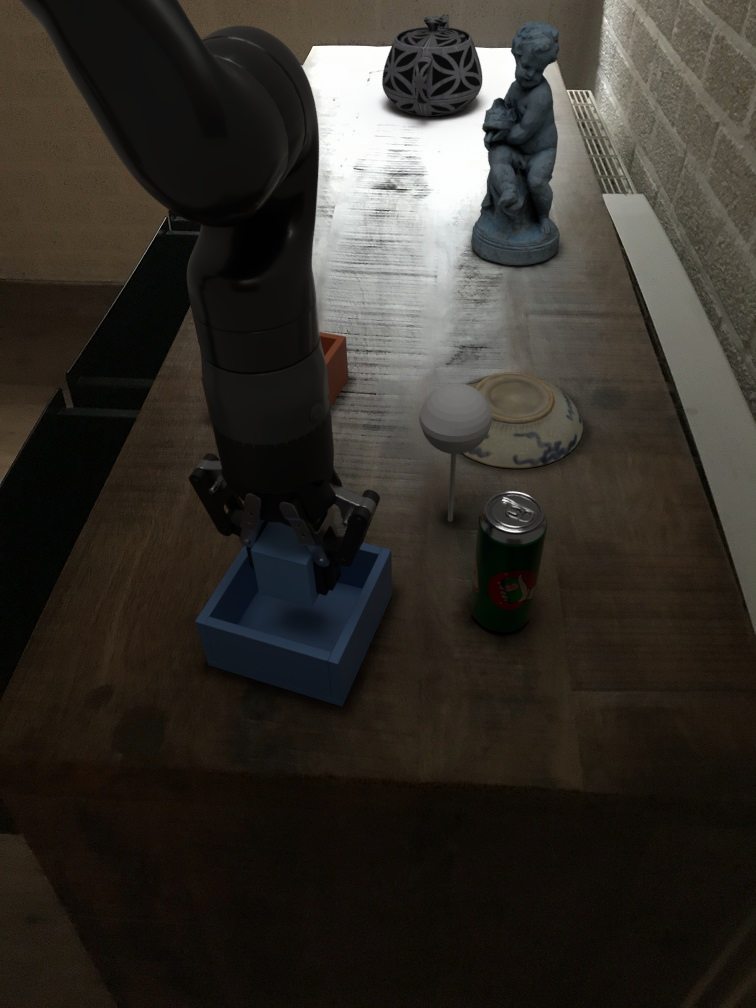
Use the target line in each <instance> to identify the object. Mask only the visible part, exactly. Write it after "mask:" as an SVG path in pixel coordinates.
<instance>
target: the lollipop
mask: <svg viewBox="0 0 756 1008" xmlns="http://www.w3.org/2000/svg"><path fill="white" fill-rule="evenodd" d="M466 384H467V383H461V382H452V383H446V384H443V385H441V386H438V388H436V389H435V390H433V391H432V392H431V393H430V394H429V395H428V396H427V397H426V399H425V401H424V402H423V404H422V406H421V408H420V410H419V411H420V412H419V417H418V419H419V425H420V427H421V431H422V433H423V436H424V437H425V438H426V441H428V443H429V444H430V445H431V446H432V447H434V448H435V449H437V450H438V451H440V452H443V453H445V454H450V465H449V468H450V469H449V470H450V471H449V485H448V486H449V487H448V489H449V490H448V506H447V508H448V509H447V522H450V523H451V522H453V520H454V519H453V518H454V504H455V503H454V502H455V485H456V469H457V455H460V454H463V453H466V452H469V451H471V450H473V449H475V448H476V447H477V446H479V445H480V444H481V443H482V442H483V440H484V439H485V438H486V436H487V434H488V432H489V430H490V427H491V424H492V410H491V408H490V406H489V404H488V402H487V401H486V399H485V397H484V396H483V395H482V394H481V393H480V392H479V391H478V390H476V389H475V388H473V387H471V386H469V385H466Z"/></svg>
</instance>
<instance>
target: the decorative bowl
mask: <svg viewBox="0 0 756 1008" xmlns="http://www.w3.org/2000/svg"><path fill="white" fill-rule="evenodd" d="M465 384H466V385H469V386H471V387H473V388H475V389H476V390H478V391H479V392H480V393H481V394H482V395H483V396H484V397H485V399H486V401H487V402H488V404H489V406H490V408H491V410H492V424H491V427H490V430H489V432H488V434H487V436H486V438H485V439H484V440H483V442H482V443H481V444H480V445H479V446H477V447H476V448H475V449H473V450H471V451H469V452H466V453H462V454H463V455H464V456H465V457H467V458H469V459H470V460H472V461H475V462H477V463H481V464H483V465H486V466H490V467H494V468H495V467H496V468H501V469H502V468H503V469H518V470H519V469H530V468H535V467H541V466H546V465H549V464H551V463H553V462H556V461H559V460H561V459H563V458H564V457H566V456H567V455H568V454H569V453H572V451H573V450H575V449H576V447H577V445H578V444H579V442H580V441H581V438H582V434H584V433H583V431H584V426H583V424H584V423H583V420H582V416H581V414H580V412H579V410H578V408H577V406H576V405H575V403H574V402H573V400H572V399H571V398H570V396H568V395H567V394H566V393H565V392H564V391H562V390H561V389H560V388H558V387H557V386H555V385H554V384H552V383H550V382H549V381H546V380H545V379H544V380H543V379H541V378H538V377H534V376H533V375H529V374H526V373H521V372H520V373H519V372H508V371H507V372H499V373H498V372H497V373H494V374H490V375H486V376H481V377H479V378H476V379H473V380H471V381H469V382H467V383H465Z"/></svg>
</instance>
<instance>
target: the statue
mask: <svg viewBox="0 0 756 1008" xmlns="http://www.w3.org/2000/svg"><path fill="white" fill-rule="evenodd" d="M559 35H560V33H559V31H558V29H557V28H556V27H554V26H552V25H551V24H547V23H545V22H543V21H527V22H525V23H523V25H522V26H521V27H520V28H518V29H517V30H516V32H515V35H514V37H513V38H512V41H511V48H510V53H511V55H512V56H513V57H514V61H515V69H514V79H515V80H514V81H512V82H511V83H510V86H509V88H508V90H507V92H506V94H505V95H504V98H503V97H497V98H495V99H493V101H492V104H491V107H490V108H488V109H486V110H485V115H484V119H483V123H482V127H481V129H482V131H483V132H484V133H485V134H484V137H483V139H482V140H483V146H484V148H485V150H486V151H487V162H488V165H489V171H488V174H487V178H486V193H485V195H484V196H483V197H484V198H483V199H482V201H481V203H480V207H481V208H480V210H479V212H480V215H479V217H478V219H477V220H476V221H475V222H474V225H473V226H472V231H471V241H470V243H471V247H472V250H473V251H474V252H475V253H476V254H477V256H479V257H480V258H482V259H485V260H487V261H489V262H494V263H498V264H502V265H508V266H528V265H529V266H530V265H533V264H538V263H543V262H545V261H547V260H549V259H551V258H552V257H553V256H554V255H555V254H556V253H557V252H558V250H559V243H560V238H561V237H560V236H561V233H560V232H561V231H560V229H559V227H558V226H557V225H556V222H554V221H553V220H552V219H551V218H550V212H551V208H552V205H553V200H554V191H553V189H552V187H551V185H550V182H551V181H552V180H553V173H554V171H555V170H554V169H555V165H556V161H557V155H558V154H557V152H558V140H559V134H558V133H559V132H558V129H557V128H558V127H557V124H556V119H555V110H554V97H553V91H552V87H551V85H550V83H549V81H548V79H547V77H545V76H544V72H545V70H546V68H547V67H548V66H549V65H551V64H553V63H555V62H557V60H558V54H559V51H560V43H559Z"/></svg>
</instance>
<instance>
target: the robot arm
mask: <svg viewBox="0 0 756 1008" xmlns="http://www.w3.org/2000/svg"><path fill="white" fill-rule="evenodd" d="M19 1H20V3H22V5H23V6H24V7H25V8H26V9H27V11H28V12H30V13H31V15H33V17H34V18H35V19H36V20H38V22H39V23H40V24H41V26H42V27H43V28H44V30H45V32H46V33H47V35H48V37H49V39H50V40H51V43H52V44H53V46H54V48H55V50H56V52H57V54H58V55H59V58H60V60H61V61H62V63H63V66H64V67H65V69H66V71H67V73H68V75H69V76H70V77H69V78H70V79H71V80H72V82H73V83H74V85H75V87H76V89H77V90H78V92H79V94H80V95H81V96H82V98H83V100H84V101H85V103H86V105H87V106H88V108H89V110H90V112H91V114H92V115H93V117H94V119H95V120H96V122H97V124H98V125H99V127H100V129H101V131H102V132H103V134H104V136H105V137H106V139H107V140H108V142H109V144H110V146H111V147H112V149H113V150H114V152H115V154H116V155H117V156H118V158H119V160H120V161H121V163H122V164H123V166H124V167H125V169H126V170H127V171H128V172H129V174H130V175H131V176H132V177H133V178H134V180H135V181H136V182H137V183H138V184H139V185H140V186H141V188H142V189H144V191H145V192H146V193H147V194H148V195H150V196H151V198H153V199H155V200H156V201H157V202H158V203H159V204H160V205H162V206H163V207H164V208H165V209H168V210H169V211H170V212H172V213H173V214H175V215H177V216H178V217H180V218H182V219H184V220H186V221H188V222H190V223H193V224H197V225H199V226H200V229H199V233H198V237H197V240H196V242H195V244H194V246H193V250H192V252H191V254H190V256H189V259H188V263H187V266H186V267H187V268H186V284H187V285H186V286H187V293H188V294H187V295H188V299H189V305H190V309H191V315H192V319H193V323H194V328H195V333H196V337H197V342H198V347H199V350H200V358H201V359H200V360H201V374H202V375H201V376H202V378H203V384H202V386H203V385H204V389H203V392H204V391H205V393H204V396H205V395H206V398H205V400H206V399H207V403H206V405H207V404H208V407H207V409H208V408H209V412H208V414H209V413H210V416H209V419H210V418H211V420H210V422H211V427H212V431H213V435H214V436H213V437H214V439H215V444H216V448H217V454H218V456H217V455H215V454H214V453H210V452H207V453H206V454H205V455H204V456H203V458H202V459H201V460H200V461H199V462H198V464H197V465H196V466H195V468H194V469H193V471H192V472H191V473H190V475H189V476H188V481H189V483H190V485H191V486H192V488H193V491H194V492H195V494H196V495H197V497H198V499H199V500H200V502H201V504H202V505H203V508H204V509H205V511H206V512H207V514H208V516H209V518H210V520H211V522H212V523H213V525H214V527H215V529H216V530H217V531H218V533H219V534H221V535H222V536H224V537H230V536H232V534H233V535H235V536H237V537H238V538H239V542H240V544H242V545H243V546H246V550H247V554H248V559H249V564H250V566H251V568H252V569H253V570H255V569H254V564H253V559H252V554H251V549H252V547H253V546H254V544H255V543H256V541H257V539H258V538H259V536H260V535H261V533H262V531H263V530H264V528H265V527H266V525H267V523H268V522H279V523H283V524H285V525H287V526H289V527H292V528H293V530H294V532H295V534H296V536H297V538H298V540H299V542H300V544H301V545H302V546H307V548H308V550H309V552H310V554H311V556H312V558H313V560H314V561H315V562H314V563H313V567H314V574H315V582H316V590H317V593H318V594H321V595H325V596H326V595H327V593H328V592H329V590H331V591H333V589H334V588H335V586H336V584H337V582H338V580H339V578H340V576H341V574H342V573H341V565H342V566H344V567H350V566H351V565H352V563H353V561H354V559H355V557H356V555H357V553H358V551H359V549H360V547H361V545H362V543H364V541H365V539H366V536H367V534H368V531H369V529H370V526H371V523H372V521H373V518H374V516H375V513H376V510H377V508H378V505H379V503H380V501H381V497H380V494H379V493H378V492H376V491H375V490H373V489H366V490H364V491H363V493H362V494H361V495H360V494H358V493H356V492H354V491H352V490H349V489H348V488H345V487H343V482H342V480H341V478H340V476H339V475H338V473H337V471H336V469H335V465H334V462H335V447H334V446H335V445H334V435H333V424H332V423H333V422H332V411H331V408H330V399H329V387H328V375H327V366H326V361H325V357H324V353H323V349H322V345H321V340H320V334H319V332H320V325H319V315H318V303H317V292H316V291H317V290H316V284H315V276H314V271H313V270H314V269H313V249H314V239H315V229H316V218H317V205H318V185H319V170H320V169H319V168H320V131H319V128H320V127H319V118H318V112H317V106H316V101H315V97H314V93H313V89H312V86H311V83H310V81H309V79H308V76H307V73H306V72H305V70H304V69H305V68H304V67H303V66H302V64H301V62H300V61H299V59H298V58H297V56H296V55H295V54H294V53H293V52H292V50H291V49H290V48H289V47H288V46H287V45H286V44H285V43H284V42H283V41H282V40H280V39H279V38H278V37H276V36H275V35H273V34H272V33H270V32H268V31H266V30H264V29H261V28H259V27H256V26H251V25H231V26H227V27H224V28H220V29H217V30H215V31H213V32H211V33H208V34H207V35H206V36H204V37H203V38H201V36H200V35H199V32H197V30H196V28H195V27H194V24H192V22H191V20H190V19H189V17H188V15H187V13H186V11H185V10H184V7H182V4H181V3H180V1H179V0H19ZM334 505H335V506H336V507H337V508H338V509H339V511H340V517H341V519H342V521H341V525H342V527H345V528H346V529H345V532H344V534H343V535H340V533H339V530H338V528H337V527H336V524H335V520H334V519H335V512H334V510H333V506H334ZM225 507H226V508H227V512H226V510H225Z"/></svg>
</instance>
